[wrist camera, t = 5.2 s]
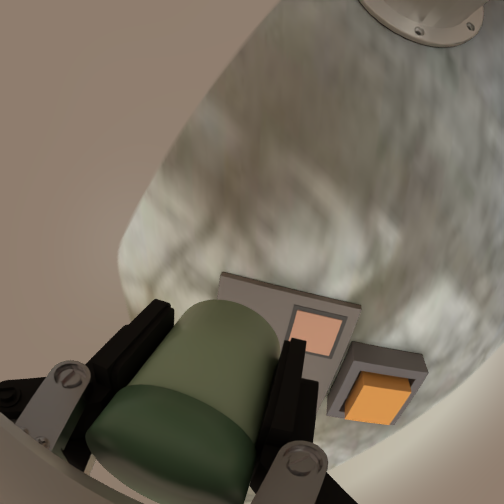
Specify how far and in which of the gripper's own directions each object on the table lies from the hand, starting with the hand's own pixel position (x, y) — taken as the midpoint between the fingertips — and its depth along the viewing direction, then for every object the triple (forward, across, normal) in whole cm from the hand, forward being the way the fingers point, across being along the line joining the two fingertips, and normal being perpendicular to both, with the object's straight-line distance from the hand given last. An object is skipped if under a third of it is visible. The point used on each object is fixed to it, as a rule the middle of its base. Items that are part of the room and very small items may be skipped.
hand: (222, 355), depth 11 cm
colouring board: (+17, -2, +13) cm, 21 cm away
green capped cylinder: (+1, 0, 0) cm, 1 cm away
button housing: (+17, -13, +13) cm, 25 cm away
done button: (+15, -13, +13) cm, 24 cm away
